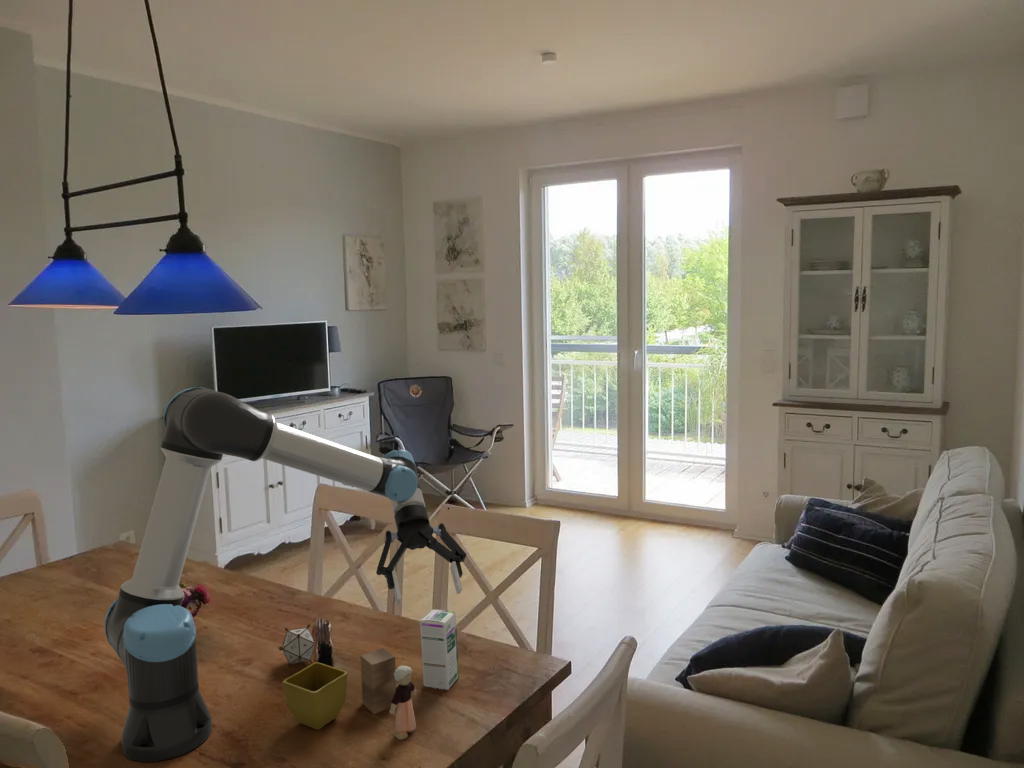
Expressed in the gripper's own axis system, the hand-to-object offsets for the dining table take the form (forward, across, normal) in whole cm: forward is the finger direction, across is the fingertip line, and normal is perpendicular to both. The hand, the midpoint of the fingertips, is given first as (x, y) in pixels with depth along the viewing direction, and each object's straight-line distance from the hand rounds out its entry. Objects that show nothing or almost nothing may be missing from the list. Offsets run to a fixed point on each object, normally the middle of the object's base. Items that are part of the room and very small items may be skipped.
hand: (429, 596), depth 166 cm
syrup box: (+17, +1, -4) cm, 18 cm away
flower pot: (+20, +26, -1) cm, 33 cm away
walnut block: (+20, +14, -2) cm, 24 cm away
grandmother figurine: (+28, +12, +6) cm, 31 cm away
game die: (+2, +27, -19) cm, 33 cm away
